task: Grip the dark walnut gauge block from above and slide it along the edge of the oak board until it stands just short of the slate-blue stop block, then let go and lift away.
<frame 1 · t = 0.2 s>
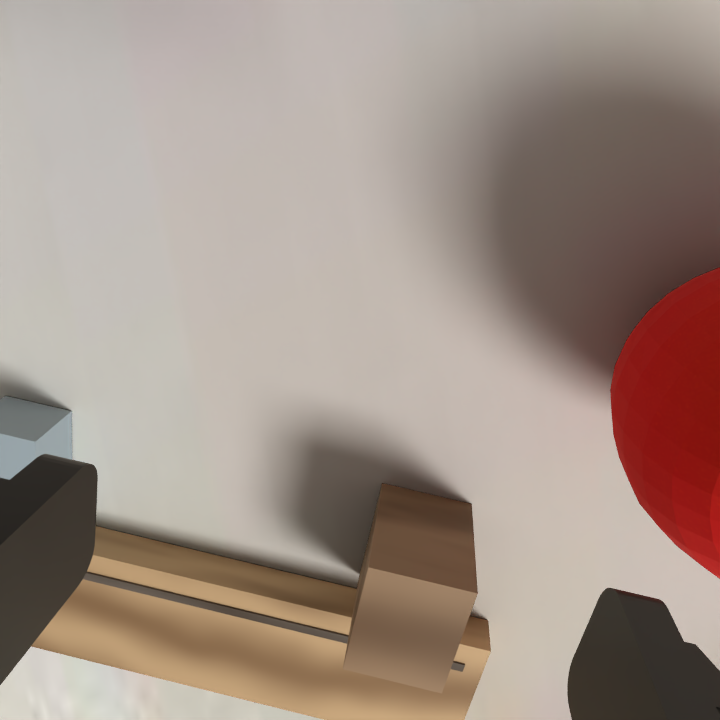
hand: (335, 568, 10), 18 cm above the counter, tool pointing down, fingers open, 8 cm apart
tomato: (718, 343, 26), on the counter
oak board: (245, 617, 35), on the counter
walnut gauge block: (413, 539, 31), on the counter
slate stop block: (40, 452, 32), on the counter
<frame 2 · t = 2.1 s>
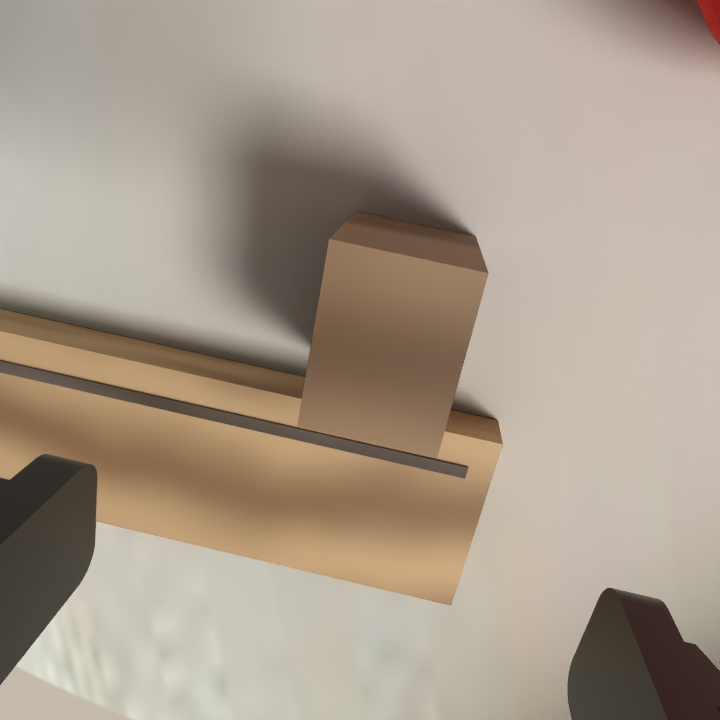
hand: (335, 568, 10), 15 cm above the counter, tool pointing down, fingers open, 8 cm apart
oak board: (181, 434, 27), on the counter
walnut gauge block: (398, 300, 24), on the counter
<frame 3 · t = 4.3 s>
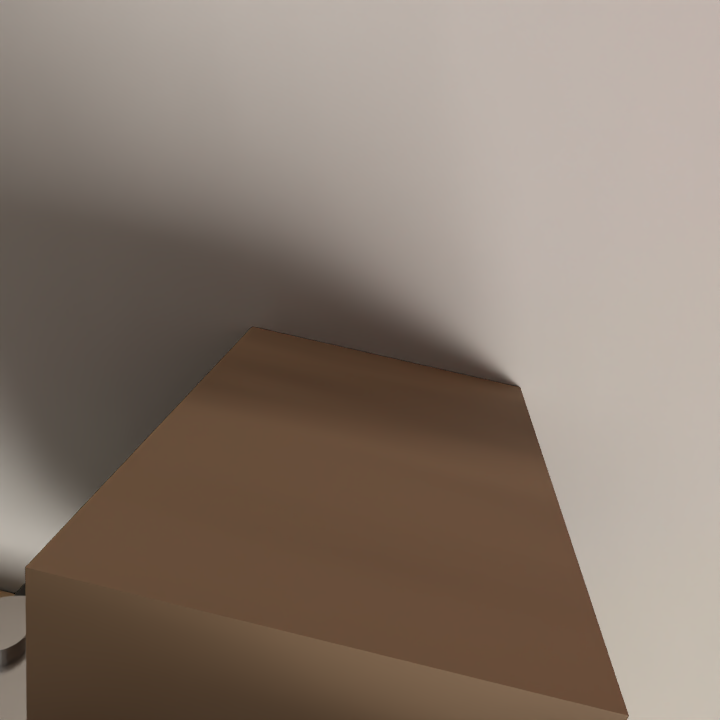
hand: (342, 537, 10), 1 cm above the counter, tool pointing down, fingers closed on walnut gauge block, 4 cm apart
walnut gauge block: (350, 507, 11), on the counter, touching gripper
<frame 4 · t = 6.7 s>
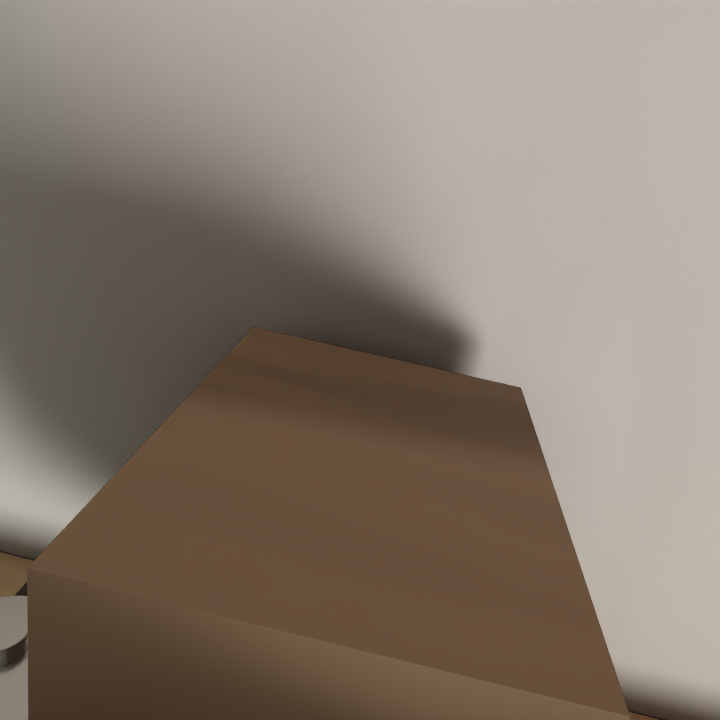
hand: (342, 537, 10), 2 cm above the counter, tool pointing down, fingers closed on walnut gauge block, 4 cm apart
walnut gauge block: (351, 507, 11), point 1 cm above the counter, touching gripper
when the fingers open (1 cm above the counter, at t = 9.1 s): walnut gauge block stays where it is, on the counter.
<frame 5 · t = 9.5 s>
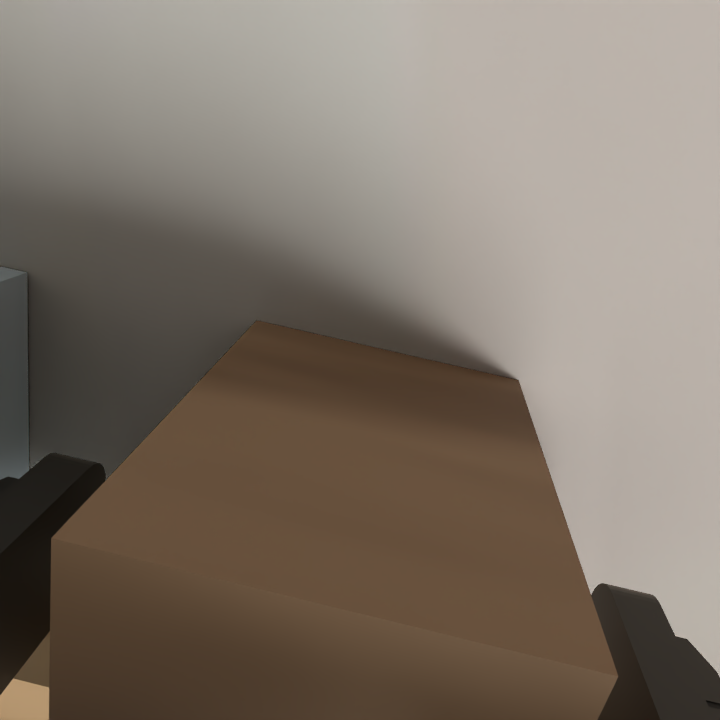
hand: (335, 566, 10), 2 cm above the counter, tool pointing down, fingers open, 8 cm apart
walnut gauge block: (352, 496, 11), on the counter
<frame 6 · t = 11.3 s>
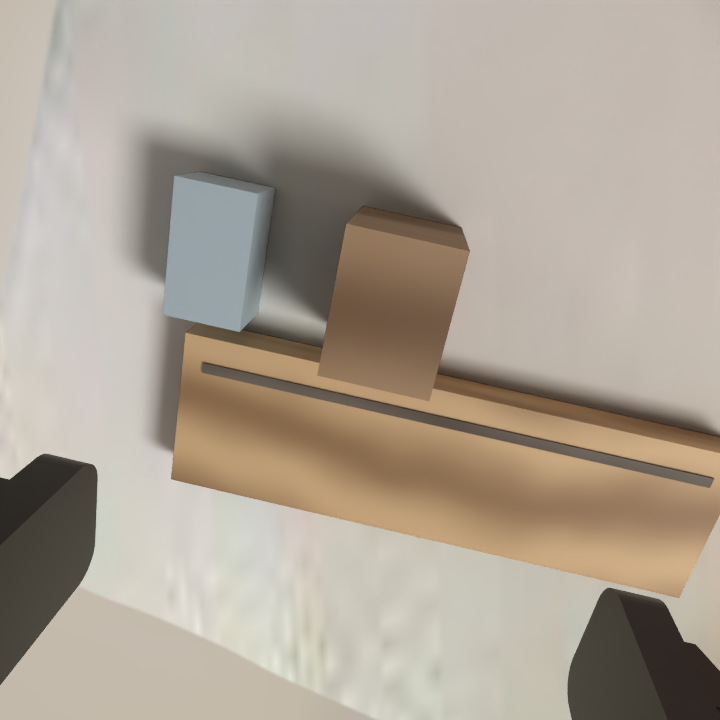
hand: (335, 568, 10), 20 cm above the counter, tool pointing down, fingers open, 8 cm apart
oak board: (440, 449, 31), on the counter
walnut gauge block: (397, 280, 28), on the counter
slate stop block: (229, 245, 29), on the counter
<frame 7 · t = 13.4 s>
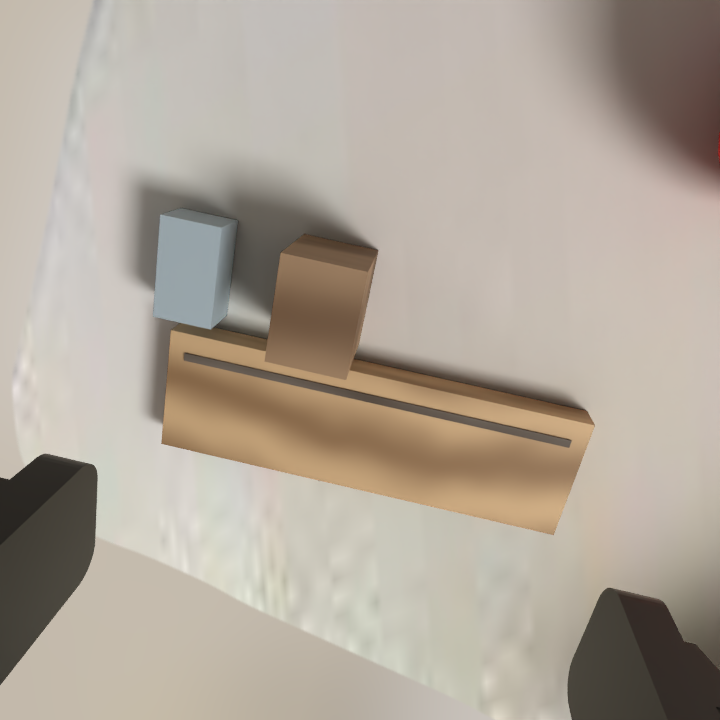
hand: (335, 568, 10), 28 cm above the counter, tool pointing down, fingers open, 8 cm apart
oak board: (370, 420, 40), on the counter
walnut gauge block: (332, 290, 37), on the counter
slate stop block: (204, 263, 37), on the counter
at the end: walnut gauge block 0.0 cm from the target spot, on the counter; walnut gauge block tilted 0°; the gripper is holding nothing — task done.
